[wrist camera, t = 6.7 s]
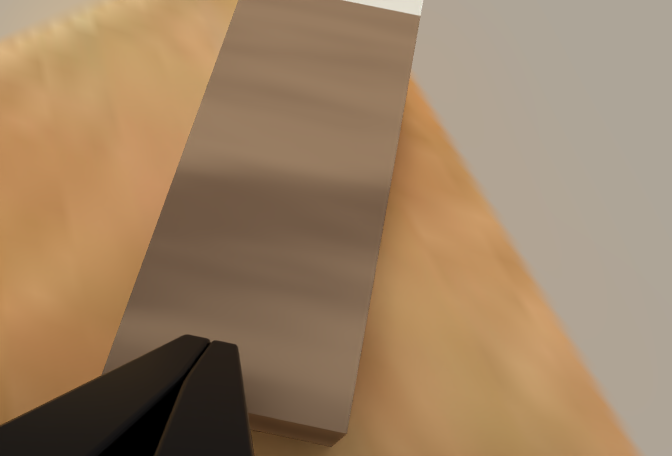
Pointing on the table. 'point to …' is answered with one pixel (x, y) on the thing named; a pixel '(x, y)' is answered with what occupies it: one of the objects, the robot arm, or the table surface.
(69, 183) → the table surface
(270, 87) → the walnut block
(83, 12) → the table surface
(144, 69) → the table surface
